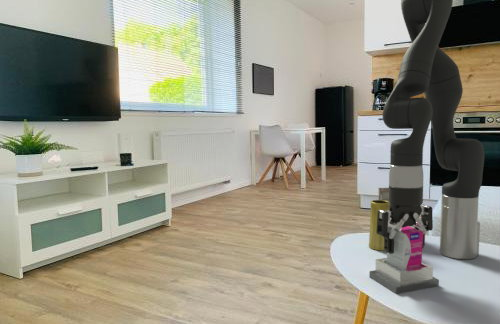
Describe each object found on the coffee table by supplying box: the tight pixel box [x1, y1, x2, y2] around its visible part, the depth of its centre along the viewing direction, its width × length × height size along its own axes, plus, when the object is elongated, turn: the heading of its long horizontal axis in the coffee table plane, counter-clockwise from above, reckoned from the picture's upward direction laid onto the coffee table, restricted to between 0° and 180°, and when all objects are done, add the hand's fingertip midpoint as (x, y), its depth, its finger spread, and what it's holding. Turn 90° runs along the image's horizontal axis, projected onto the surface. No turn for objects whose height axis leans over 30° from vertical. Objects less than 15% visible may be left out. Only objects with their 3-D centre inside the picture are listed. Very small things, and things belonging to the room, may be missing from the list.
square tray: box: [368, 257, 440, 295], centre depth 94 cm, size 12×10×4 cm
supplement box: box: [386, 226, 423, 271], centre depth 94 cm, size 6×6×12 cm
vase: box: [368, 199, 389, 251], centre depth 118 cm, size 6×6×14 cm
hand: (404, 250), depth 93 cm, fingers open, 8 cm apart
